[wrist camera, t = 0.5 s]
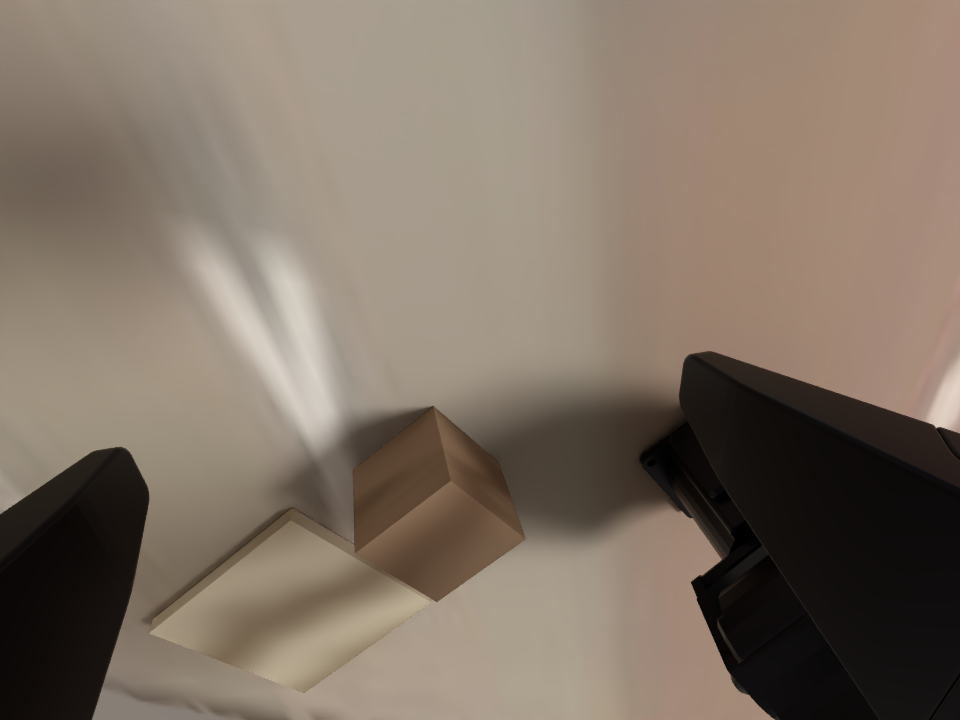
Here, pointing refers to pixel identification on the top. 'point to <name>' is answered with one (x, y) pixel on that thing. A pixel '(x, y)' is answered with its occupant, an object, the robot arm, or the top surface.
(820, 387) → the robot arm
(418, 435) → the walnut cube
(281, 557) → the birch coaster
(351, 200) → the top surface
